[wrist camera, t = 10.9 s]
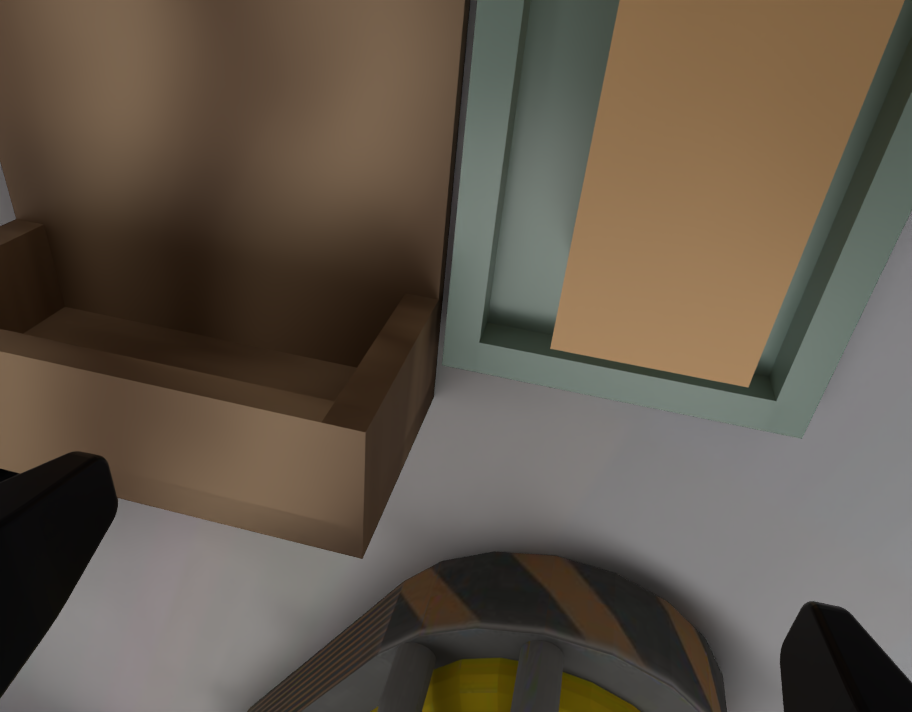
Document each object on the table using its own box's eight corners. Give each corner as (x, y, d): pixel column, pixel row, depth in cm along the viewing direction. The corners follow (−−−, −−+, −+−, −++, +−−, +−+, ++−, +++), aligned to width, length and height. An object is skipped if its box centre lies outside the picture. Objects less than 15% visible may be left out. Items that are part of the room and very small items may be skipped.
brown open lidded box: (58, 318, 24) (-124, 437, 18) (-100, -280, 16) (-538, -413, 10) (433, 397, 22) (362, 558, 16) (491, -236, 14) (385, -366, 8)
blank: (569, 255, 18) (550, 348, 14) (696, -380, 12) (730, -558, 7) (721, 282, 18) (748, 387, 13) (944, -369, 11) (1128, -554, 7)
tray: (455, 336, 21) (442, 364, 19) (544, -497, 12) (532, -559, 10) (789, 402, 19) (801, 438, 18) (1189, -484, 10) (1279, -552, 9)
